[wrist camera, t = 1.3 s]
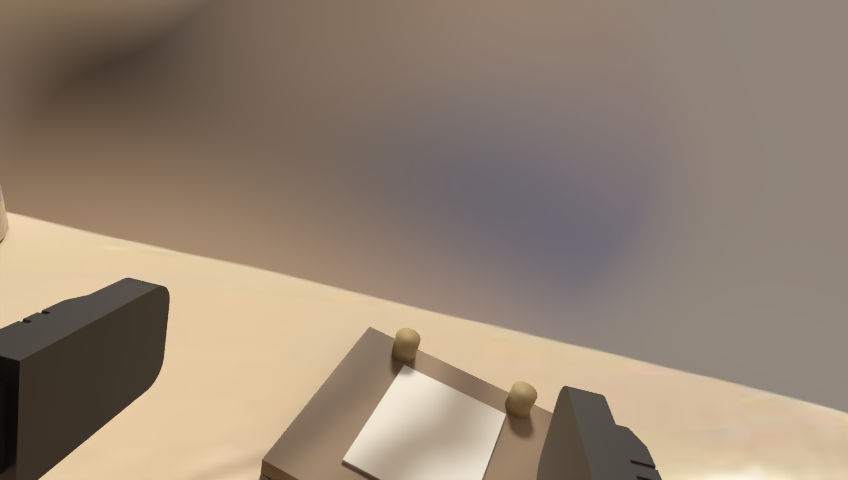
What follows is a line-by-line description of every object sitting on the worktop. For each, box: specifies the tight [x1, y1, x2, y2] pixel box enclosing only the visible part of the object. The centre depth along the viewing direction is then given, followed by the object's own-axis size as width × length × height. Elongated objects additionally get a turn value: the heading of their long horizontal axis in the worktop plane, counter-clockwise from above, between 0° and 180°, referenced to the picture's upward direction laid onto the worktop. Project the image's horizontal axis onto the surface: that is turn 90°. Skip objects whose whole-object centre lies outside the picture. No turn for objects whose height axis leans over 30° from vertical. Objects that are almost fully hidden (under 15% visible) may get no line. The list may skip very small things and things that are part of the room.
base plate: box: [261, 327, 553, 480], centre depth 32 cm, size 14×12×3 cm
